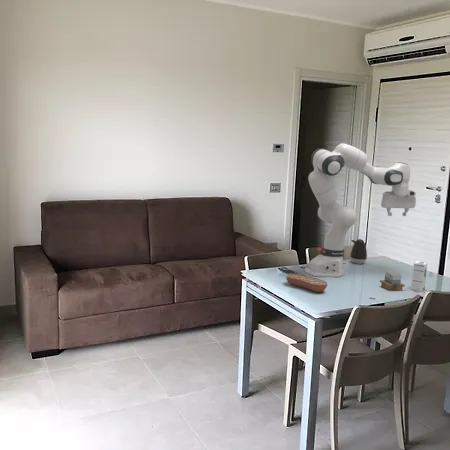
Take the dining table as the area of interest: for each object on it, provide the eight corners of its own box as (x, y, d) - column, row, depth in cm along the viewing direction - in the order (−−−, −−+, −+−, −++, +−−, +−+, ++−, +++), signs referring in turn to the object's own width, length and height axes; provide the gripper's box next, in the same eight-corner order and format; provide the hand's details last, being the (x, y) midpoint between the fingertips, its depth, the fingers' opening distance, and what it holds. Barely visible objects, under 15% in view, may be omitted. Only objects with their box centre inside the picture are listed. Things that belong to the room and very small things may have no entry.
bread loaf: (281, 284, 258) (282, 275, 257) (293, 281, 265) (293, 272, 264) (320, 295, 243) (321, 286, 242) (330, 292, 250) (331, 282, 249)
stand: (388, 291, 256) (389, 285, 255) (379, 285, 264) (379, 280, 264) (404, 290, 258) (404, 284, 258) (394, 285, 267) (394, 279, 266)
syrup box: (422, 291, 258) (425, 264, 255) (410, 289, 261) (413, 262, 258) (424, 289, 263) (427, 262, 260) (412, 286, 266) (416, 260, 263)
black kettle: (348, 260, 317) (350, 236, 315) (364, 261, 317) (367, 238, 314) (350, 264, 307) (352, 240, 305) (367, 265, 307) (370, 241, 304)
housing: (391, 284, 257) (392, 275, 256) (384, 280, 263) (385, 271, 263) (400, 284, 258) (401, 275, 257) (392, 280, 265) (393, 271, 264)
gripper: (386, 191, 276) (383, 216, 278) (418, 192, 281) (415, 216, 284) (380, 190, 282) (377, 214, 284) (411, 191, 287) (408, 215, 290)
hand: (396, 215), depth 284 cm, fingers open, 8 cm apart
